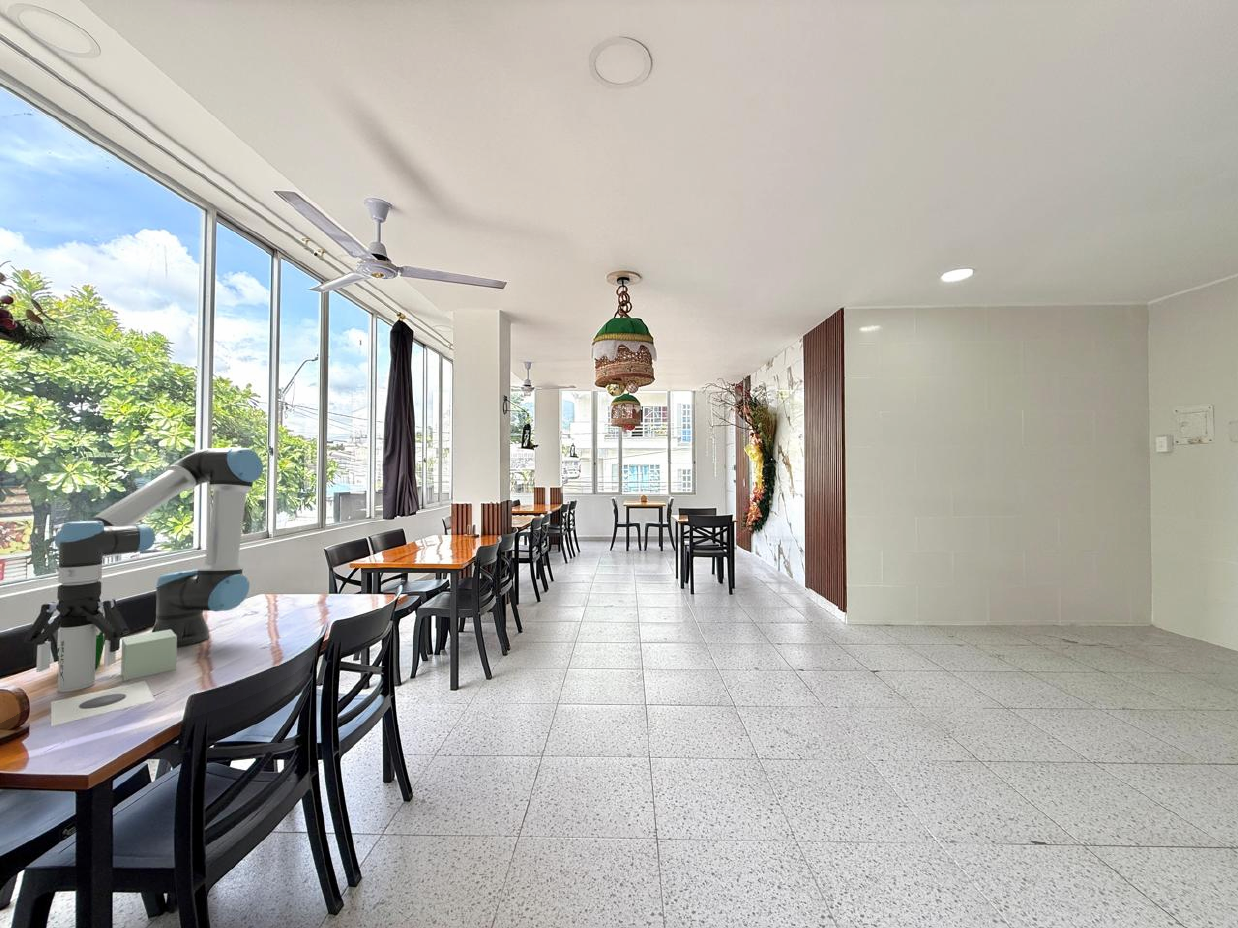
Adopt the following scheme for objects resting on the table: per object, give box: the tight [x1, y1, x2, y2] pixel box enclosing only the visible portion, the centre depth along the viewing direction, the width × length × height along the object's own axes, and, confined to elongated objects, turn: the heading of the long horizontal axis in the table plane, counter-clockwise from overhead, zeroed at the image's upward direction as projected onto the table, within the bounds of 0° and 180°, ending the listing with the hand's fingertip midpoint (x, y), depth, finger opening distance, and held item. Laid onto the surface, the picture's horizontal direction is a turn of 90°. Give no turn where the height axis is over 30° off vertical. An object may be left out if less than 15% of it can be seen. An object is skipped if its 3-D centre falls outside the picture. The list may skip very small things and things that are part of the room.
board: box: [50, 680, 156, 727], centre depth 116 cm, size 18×16×1 cm
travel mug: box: [57, 612, 96, 694], centre depth 125 cm, size 6×7×20 cm
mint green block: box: [120, 629, 178, 681], centre depth 136 cm, size 10×10×10 cm
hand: (76, 667), depth 124 cm, fingers open, 13 cm apart
